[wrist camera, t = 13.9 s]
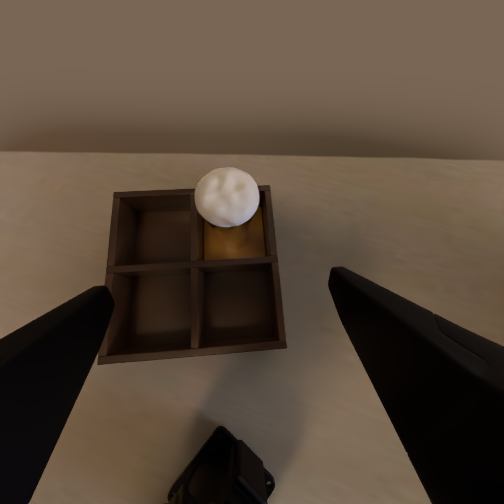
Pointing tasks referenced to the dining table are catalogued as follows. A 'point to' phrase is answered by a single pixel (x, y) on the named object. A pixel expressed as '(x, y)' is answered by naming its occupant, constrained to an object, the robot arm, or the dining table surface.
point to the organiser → (188, 281)
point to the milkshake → (228, 203)
